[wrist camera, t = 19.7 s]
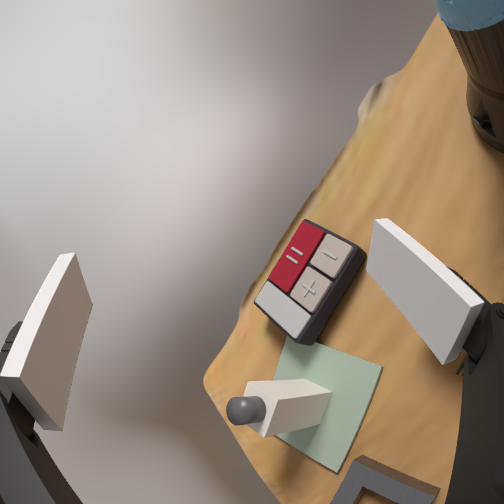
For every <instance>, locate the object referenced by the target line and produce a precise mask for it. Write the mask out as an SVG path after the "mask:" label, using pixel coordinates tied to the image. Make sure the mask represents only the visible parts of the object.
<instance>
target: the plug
mask: <svg viewBox="0 0 504 504" xmlns="http://www.w3.org/2000/svg"><path fill="white" fill-rule="evenodd" d="M331 395H332V391H330V390H327V389H325V388H323V387H321V386H319V385H317V384H315V383H313V382H310V381H308V380H306V379H293V380H276V381H248V383H247V386H246V389H245V393H244V396H243V397H233V398H231V399H230V400H229V402H228V404H227V408H226V412H227V417H228V419H229V421H230V422H231V423H232V424H234V425H245V424H246V425H248V426H249V427H250V428H252V429H253V430H254V431H256V432H257V433H259V434H260V435H261V436H263V437H264V438H265V437H270V436H274V435H279V434H283V433H287V432H291V431H295V430H299V429H303V428H307V427H311V426H314V425H318V424H320V423H321V421H322V418H323V416H324V413H325V411H326V408H327V405H328V403H329V400H330V397H331Z"/></svg>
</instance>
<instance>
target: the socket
mask: <svg viewBox="0 0 504 504" xmlns="http://www.w3.org/2000/svg"><path fill="white" fill-rule="evenodd" d="M366 488H367V489H369V490H371V491H373V492H375V493H377V494H379V495H381V496H383V497H386V498H388V499H390V500H392V501H394V502H396V503H399V504H431V503H432V502H433V500H434V498H435V497H436V495H437V494H438V492H439V490H440V489H441V488H438V487H436V486H433V485H430V484H428V483H425V482H423V481H420V480H418V479H415V478H413V477H411V476H408V475H406V474H403V473H401V472H399V471H397V470H394V469H392V468H390V467H388V466H385V465H383V464H381V463H379V462H377V461H375V460H373V459H370V458H368V457H366V456H364V455H361V456H360V457H358V458H356V459H354V460H353V462H352V464H351V466H350V468H349V470H348V472H347V474H346V476H345V478H344V480H343V482H342V483H341V485H340V487H339V489H338V491H337V493H336V494H335V496H334V498H333V500H332V501H331V503H330V504H358V502H359V500H360V499H361V497H362V495H363V494H364V492H365V490H366Z"/></svg>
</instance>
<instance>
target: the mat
mask: <svg viewBox="0 0 504 504" xmlns="http://www.w3.org/2000/svg"><path fill="white" fill-rule="evenodd" d="M382 369H383V366H381V365H378V364H375V363H372V362H369V361H367V360H364V359H361V358H358V357H355V356H353V355H350V354H347V353H345V352H342V351H339V350H336V349H334V348H331V347H329V346H326V345H323V344H321V343H318V342H314V343H313V345H312V346H308V345H303V344H298V343H295V342H294V341H293V340H292V339H291V338H290V337H289V336H288V335H287V337H286V340H285V343H284V347H283V350H282V353H281V356H280V359H279V362H278V366H277V369H276V372H275V375H274V378H273V381H276V380H293V379H306V380H308V381H310V382H313V383H315V384H317V385H319V386H321V387H323V388H325V389H327V390H330V391H332V395H331V397H330V400H329V403H328V405H327V408H326V411H325V413H324V416H323V418H322V421H321V423H320V424H318V425H314V426H311V427H307V428H303V429H299V430H295V431H291V432H287V433H283V434H279V435H276V436H278V437H279V438H281V439H282V440H284V441H285V442H287V443H288V444H290V445H291V446H293V447H295V448H296V449H298V450H299V451H301V452H302V453H304V454H306V455H307V456H309V457H311V458H312V459H314V460H316V461H317V462H319V463H321V464H322V465H324V466H326V467H328V468H329V469H331V470H333V471H335V472H336V473H338V472H339V471H340V469H341V467H342V465H343V463H344V461H345V459H346V457H347V455H348V453H349V451H350V449H351V446H352V444H353V442H354V440H355V438H356V435H357V433H358V431H359V429H360V426H361V424H362V421H363V419H364V417H365V414H366V412H367V409H368V407H369V404H370V402H371V399H372V397H373V394H374V391H375V389H376V386H377V383H378V380H379V378H380V375H381V372H382Z"/></svg>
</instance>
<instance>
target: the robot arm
mask: <svg viewBox="0 0 504 504" xmlns="http://www.w3.org/2000/svg"><path fill="white" fill-rule="evenodd" d="M434 2H435V4H436V6H437V8H438V13H439V16H440V18H441V20H442V21H443V22H444V23H445V25H446V26H447V28H448V30H449V32H450V34H451V37H452V39H453V41H454V43H455V45H456V47H457V49H458V52H459V54H460V56H461V59H462V61H463V64H464V66H465V68H466V71H467V74H468V77H467V96H466V99H467V107H468V111H469V114H470V116H471V119H472V122H473V124H474V126H475V128H476V130H477V132H478V133H479V134H480V136H481V137H482V138H483V139H484V140H485V141H486V142H487V143H489V144H490V145H491V146H493V147H494V148H496V149H497V150H499V151H501V152H503V153H504V0H434ZM366 271H367V272H368V274H369V275H370V276H371V277H372V278H373V279H374V281H375V282H376V283H377V284H378V285H379V286H380V288H381V289H382V290H383V291H384V292H385V294H386V295H387V296H388V297H389V298H390V299H391V301H392V302H393V303H394V304H395V306H396V307H397V308H398V309H399V310H400V312H401V313H402V314H403V315H404V317H405V318H406V319H407V320H408V321H409V323H410V324H411V325H412V326H413V328H414V329H415V330H416V331H417V333H418V334H419V335H420V337H421V338H422V339H423V340H424V342H425V343H426V344H427V346H428V347H429V348H430V349H431V351H432V352H433V353H434V355H435V356H436V357H437V359H438V360H439V361H440V363H441V364H442V365H445V364H447V363H449V362H452V361H454V360H456V359H457V357H458V356H459V354H460V352H461V350H462V348H464V350H465V351H466V352H467V354H466V356H465V357H464V359H463V361H462V363H461V364H460V366H459V368H458V369H457V372H456V374H459V373H460V371H461V369H463V368H464V370H463V374H462V375H463V392H462V405H461V416H460V425H459V433H458V441H457V447H456V454H455V459H454V465H453V470H452V475H451V480H450V485H449V489H448V493H447V497H446V501H445V504H504V304H503V303H493V304H492V305H491V304H490V303H489V302H488V301H487V300H486V299H485V298H484V297H483V296H482V295H481V294H480V293H479V292H478V291H477V290H476V289H475V288H473V287H472V286H471V285H469V283H468V282H467V281H466V280H465V279H464V280H463V277H461V276H460V275H459V274H458V273H457V272H456V271H454V270H453V269H451V268H449V267H447V266H445V265H444V264H443V263H442V262H440V261H439V260H438V259H437V258H436V257H435V256H433V255H432V254H431V253H430V252H429V251H428V250H426V249H425V248H424V247H423V246H422V245H420V244H419V243H418V242H417V241H416V240H414V239H413V238H412V237H411V236H409V235H408V234H407V233H406V232H404V231H403V230H402V229H401V228H399V227H398V226H397V225H396V224H394V223H393V222H392V221H390V220H389V219H388V218H386V219H375V220H374V226H373V232H372V238H371V244H370V250H369V256H368V261H367V267H366ZM92 306H93V304H92V302H91V299H90V296H89V293H88V290H87V288H86V285H85V282H84V279H83V276H82V273H81V270H80V267H79V263H78V260H77V257H76V254H75V253H69V254H62V255H60V256H59V257H58V259H57V260H56V262H55V264H54V266H53V267H52V269H51V271H50V272H49V274H48V276H47V278H46V280H45V281H44V283H43V285H42V287H41V288H40V290H39V292H38V294H37V296H36V298H35V300H34V302H33V304H32V305H31V307H30V310H29V311H28V313H27V315H26V317H25V320H24V321H23V322H18V323H17V324H16V325H15V326H14V327H13V329H12V330H11V331H10V333H9V334H8V336H7V338H6V341H5V344H4V345H3V347H2V349H1V352H0V504H83V503H82V502H81V500H80V499H79V498H78V496H77V495H76V493H75V492H74V491H73V490H72V488H71V487H70V485H69V484H68V482H67V481H66V479H65V478H64V476H63V475H62V473H61V472H60V470H59V469H58V467H57V466H56V464H55V463H54V461H53V460H52V458H51V456H50V455H49V453H48V451H47V450H46V448H45V446H44V444H43V443H42V441H41V439H40V437H39V436H38V434H37V433H36V432H35V431H34V429H33V427H34V423H35V421H36V422H37V423H38V424H39V425H40V426H41V427H42V428H43V429H44V430H54V431H63V425H64V420H65V414H66V408H67V404H68V399H69V393H70V389H71V385H72V380H73V376H74V372H75V368H76V363H77V359H78V355H79V352H80V348H81V344H82V340H83V337H84V333H85V330H86V326H87V323H88V319H89V316H90V313H91V309H92Z"/></svg>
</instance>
